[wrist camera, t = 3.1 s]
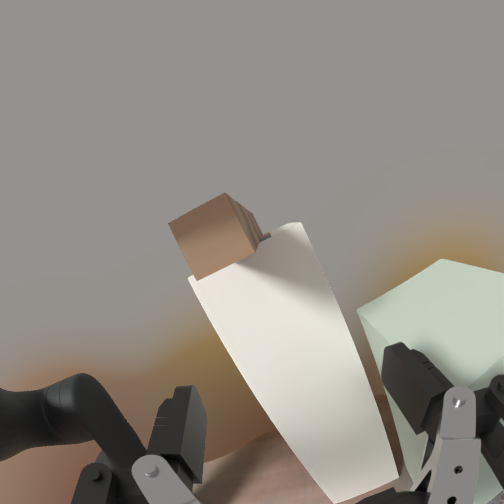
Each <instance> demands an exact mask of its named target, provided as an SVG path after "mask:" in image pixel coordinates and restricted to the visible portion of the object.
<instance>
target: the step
mask: <svg viewBox="0 0 504 504" xmlns="http://www.w3.org/2000/svg"><path fill="white" fill-rule="evenodd" d="M357 312H358V315H359V317H360V320H361V323H362V325H363V328H364V331H365V333H366V336H367V339H368V342H369V344H370V347H371V350H372V353H373V355H374V358H375V361H376V364H377V367H378V370H379V373H380V376H381V370H382V363H383V354H384V348H385V347H386V346H389V345H392V344H395V343H398V342H403V343H404V344H405V345H406V346H407V347H408V348H409V349H410V350H411V349H415V350H417V351H419V352H422V353H423V354H424V355H425V356H426V357H427V358H428V359H429V360H430V362H432V363H433V364H434V365H435V367H437V368H438V369H439V370H440V371H441V372H442V373H443V374H444V376H445V377H446V378H447V379H448V380H449V381H450V382H451V383H452V384H453V385H454V386H465V387H468V388H469V389H471V390H472V391H476V390H480V389H483V388H487V387H489V384H490V382H491V380H492V379H493V378H494V377H495V376H497V375H501V374H504V273H500V272H496V271H491V270H488V269H483V268H479V267H475V266H471V265H467V264H463V263H458V262H454V261H449V260H445V259H440V260H438V261H437V262H435V263H434V264H432V265H431V266H430V267H428V268H426V269H425V270H423V271H422V272H420V273H418V274H417V275H415V276H414V277H412V278H410V279H409V280H407V281H406V282H404V283H402V284H401V285H399V286H397V287H396V288H394V289H392V290H390V291H389V292H387V293H385V294H384V295H382V296H380V297H378V298H377V299H375V300H373V301H371V302H369V303H368V304H366V305H364V306H363V307H360V308H358V309H357ZM381 379H382V378H381ZM383 386H384V385H383ZM384 389H385V392H386V395H387V398H388V402H389V405H390V408H391V412H392V415H393V419H394V422H395V426H396V430H397V433H398V437H399V441H400V445H401V449H402V453H403V457H404V462H405V466H406V469H407V471H408V473H409V475H410V477H411V479H412V481H413V483H414V481H415V479H416V476H417V474H418V470H419V467H420V463H421V459H422V455H423V451H424V446H425V442H426V438H427V435H428V434H427V433H426V431H424V432H422V433H420V434H418V435H416V434H415V432H414V431H413V429H412V428H411V426H410V425H409V423H408V421H407V420H406V418H405V417H404V415H403V414H402V412H401V411H400V409H399V408H398V406H397V405H396V403H395V402H394V400H393V398H392V397H391V395H390V394H389V392H388V391H387V389H386V388H385V386H384ZM500 422H501V424H502V425H503V426H504V421H503V419H502V418H501V419H500ZM502 491H503V488H502V486H501V485H500V483H499V481H498V479H497V478H496V476H495V474H494V473H493V471H492V469H491V468H490V466H489V464H488V463H487V461H486V459H485V458H484V456H483V455H482V453H481V452H480V463H479V471H478V479H477V485H476V491H475V496H474V501H473V504H487V503H488V502H489V501H490V500H492V499H493V498H494V497H495V496H497V495H498V494H499V493H500V492H502Z"/></svg>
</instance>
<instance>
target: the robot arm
mask: <svg viewBox="0 0 504 504" xmlns="http://www.w3.org/2000/svg"><path fill="white" fill-rule="evenodd" d="M381 378H382V382H383V385H384V386H385V388H386V389H387V391H388V392H389V394H390V395H391V397H392V398H393V400H394V402H395V403H396V405H397V406H398V408H399V409H400V411H401V412H402V414H403V415H404V417H405V418H406V420H407V421H408V423H409V425H410V426H411V428H412V429H413V431H414V432H415V434H416V435H418V434H420V433H422V432H424V431H426V433H427V434H428V435H427V438H426V442H425V446H424V451H423V455H422V459H421V463H420V467H419V470H418V474H417V476H416V479H415V481H414V483H413V485H412V487H411V490H410V491H403V492H396V491H395V489H394V487H393V488H390V489H388V490H385V491H383V492H380V493H378V494H375V495H373V496H370V497H367V498H365V499H363V500H361V501H359V502H358V503H356V504H473V501H474V496H475V491H476V485H477V479H478V471H479V463H480V452H481V453H482V455H483V456H484V458H485V459H486V461H487V463H488V464H489V466H490V468H491V469H492V471H493V473H494V474H495V476H496V478H497V479H498V481H499V483H500V485H501V486H502V488H503V492H502V498H501V500H500V503H499V504H504V426H503V425H502V424H501V422H500V419H501V418H502V419H503V421H504V374H501V375H497V376H495V377H494V378H493V379H492V380H491V382H490V384H489V387H487V388H483V389H480V390H476V391H472V390H471V389H469V388H468V387H465V386H454V385H453V384H452V383H451V382H450V381H449V380H448V379H447V378H446V377H445V376H444V374H443V373H442V372H441V371H440V370H439V369H438V368H437V367H435V365H434V364H433V363H432V362H430V360H429V359H428V358H427V357H426V356H425V355H424V354H423V353H422V352H419V351H417V350H415V349H411V350H410V349H409V348H408V347H407V346H406V345H405V344H404V343H403V342H398V343H395V344H392V345H389V346H386V347H385V348H384V354H383V363H382V370H381ZM156 417H157V419H156V420H155V423H154V425H155V426H154V427H153V431H152V434H151V438H150V442H149V446H148V449H147V450H146V448H145V447H144V446H143V445H142V443H141V441H140V439H139V437H138V436H137V434H136V432H135V431H134V430H133V428H132V427H131V426H130V424H129V423H128V422H127V420H126V419H125V418H124V416H123V415H122V413H121V412H120V410H119V409H118V407H117V406H116V404H115V403H114V401H113V400H112V398H111V397H110V395H109V394H108V393H107V391H106V390H105V389H104V387H103V386H102V385H101V384H100V383H99V382H98V381H97V380H96V379H95V378H94V377H92V376H90V375H88V374H85V373H80V374H76V375H73V376H71V377H69V378H66V379H64V380H62V381H60V382H57V383H55V384H53V385H50V386H48V387H46V388H43V389H39V390H34V391H24V392H11V391H6V390H3V389H1V388H0V461H3V460H6V459H8V458H10V457H12V456H14V455H16V454H18V453H20V452H21V451H23V450H26V449H29V448H34V447H42V446H53V445H67V444H78V443H83V442H87V441H91V440H95V441H96V442H97V443H98V445H99V446H100V447H101V449H102V451H101V452H100V453H99V455H98V457H97V459H96V462H95V463H91V464H89V465H87V466H86V467H85V468H83V470H82V471H81V474H80V477H79V480H78V483H77V486H76V489H75V492H74V496H73V499H72V502H71V504H205V503H203V502H202V501H201V500H200V499H198V498H197V497H196V496H195V495H194V494H193V492H192V488H193V484H202V474H203V459H204V449H205V436H206V425H207V417H206V412H205V409H204V406H203V404H202V401H201V399H200V397H199V394H198V391H197V389H196V387H195V386H194V385H190V386H177V387H176V388H175V392H174V395H173V398H172V399H166V400H165V401H164V402H163V403H162V404H161V406H160V407H159V410H158V413H157V416H156Z"/></svg>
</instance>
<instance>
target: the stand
mask: <svg viewBox="0 0 504 504" xmlns="http://www.w3.org/2000/svg"><path fill="white" fill-rule="evenodd" d="M188 280H189V282H190V284H191V286H192V288H193V290H194V292H195V293H196V295H197V297H198V299H199V301H200V303H201V305H202V307H203V308H204V310H205V312H206V314H207V316H208V318H209V319H210V321H211V323H212V325H213V327H214V328H215V330H216V332H217V333H218V335H219V337H220V339H221V341H222V342H223V344H224V346H225V347H226V349H227V351H228V353H229V354H230V356H231V358H232V359H233V361H234V362H235V364H236V366H237V368H238V369H239V371H240V373H241V374H242V376H243V377H244V379H245V381H246V382H247V384H248V385H249V387H250V389H251V390H252V392H253V393H254V395H255V396H256V398H257V400H258V401H259V403H260V404H261V406H262V407H263V409H264V410H265V412H266V413H267V414H268V416H269V418H270V419H271V421H272V422H273V424H274V425H275V427H276V428H277V429H278V431H279V432H280V434H281V435H282V437H283V438H284V440H285V441H286V442H287V444H288V445H289V447H290V448H291V449H292V451H293V452H294V453H295V455H296V456H297V458H298V459H299V460H300V462H301V463H302V464H303V466H304V467H305V468H306V470H307V471H308V472H309V474H310V475H311V476H312V477H313V479H314V480H315V481H316V483H317V484H318V485H319V486H320V488H321V489H322V490H323V491H324V493H325V494H326V495H327V496H328V498H329V499H330V500H331V501H332V502H333V504H336V503H339V502H342V501H345V500H348V499H351V498H353V497H356V496H359V495H361V494H364V493H366V492H368V491H371V490H373V489H375V488H378V487H380V486H382V485H384V484H387V483H389V482H391V481H393V480H395V479H397V478H399V475H398V472H397V468H396V464H395V461H394V457H393V454H392V451H391V447H390V444H389V441H388V438H387V435H386V431H385V428H384V425H383V422H382V419H381V416H380V413H379V410H378V407H377V404H376V401H375V398H374V396H373V393H372V390H371V387H370V385H369V382H368V379H367V376H366V374H365V371H364V368H363V366H362V363H361V360H360V358H359V355H358V352H357V350H356V347H355V345H354V342H353V340H352V337H351V335H350V332H349V330H348V327H347V325H346V323H345V320H344V317H343V315H342V313H341V310H340V308H339V306H338V303H337V301H336V298H335V296H334V294H333V292H332V289H331V287H330V285H329V282H328V280H327V278H326V276H325V273H324V271H323V269H322V267H321V265H320V262H319V260H318V258H317V256H316V254H315V251H314V249H313V247H312V245H311V243H310V241H309V239H308V237H307V234H306V232H305V230H304V228H303V226H302V224H301V223H300V222H299V223H288V224H286V225H284V226H282V227H280V228H278V229H276V230H274V231H272V232H268V233H266V234H264V235H262V237H261V240H260V242H259V244H258V247H257V249H256V252H255V253H254V254H252V255H249V256H247V257H245V258H243V259H241V260H239V261H237V262H235V263H233V264H231V265H229V266H227V267H225V268H223V269H221V270H219V271H217V272H215V273H213V274H211V275H209V276H207V277H205V278H203V279H201V280H198V281H196V279H195V277H194V275H192V276H190V277H189V278H188Z"/></svg>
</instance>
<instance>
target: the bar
mask: <svg viewBox="0 0 504 504" xmlns="http://www.w3.org/2000/svg"><path fill="white" fill-rule="evenodd" d="M168 224H169V226H170V228H171V230H172V233H173V235H174V237H175V239H176V241H177V243H178V245H179V247H180V249H181V251H182V253H183V255H184V257H185V259H186V261H187V263H188V265H189V267H190V269H191V271H192V273H193V275H194V277H195V279H196V281H198V280H201V279H203V278H205V277H207V276H209V275H211V274H213V273H215V272H217V271H219V270H221V269H223V268H225V267H227V266H229V265H231V264H233V263H235V262H237V261H239V260H241V259H243V258H245V257H247V256H249V255H252V254H254V253H255V252H256V249H257V247H258V244H259V242H260V240H261V237H262V235H263V234H262V232H261V230H260V228H259V226H258V224H257V222H256V220H255V218H254V216H253V214H252V213H251V212H250V211H248V210H247V209H245V208H244V207H243V206H242V205H240V204H239V203H238V202H237V201H235V200H234V199H232V198H231V197H230V196H229V195H227V194H226V193H223V194H221V195H220V196H217V197H216V198H214V199H212V200H210V201H208V202H206V203H205V204H202V205H200V206H199V207H197V208H195V209H193V210H191V211H189V212H188V213H186V214H184V215H182V216H180V217H179V218H177V219H175V220H173V221H172V222H170V223H168Z"/></svg>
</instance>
